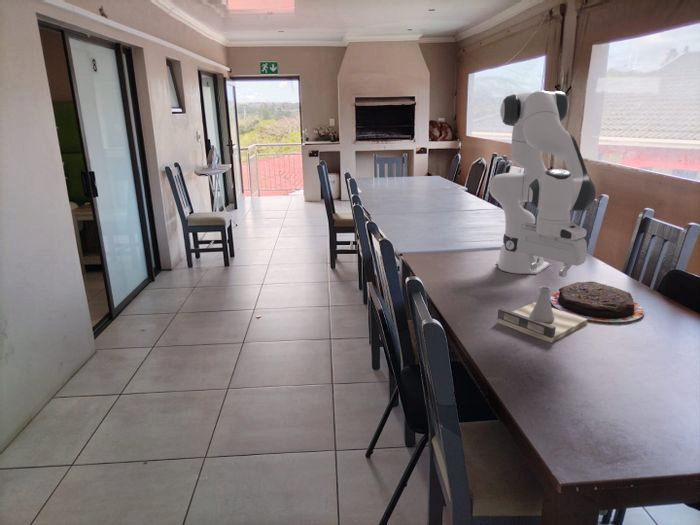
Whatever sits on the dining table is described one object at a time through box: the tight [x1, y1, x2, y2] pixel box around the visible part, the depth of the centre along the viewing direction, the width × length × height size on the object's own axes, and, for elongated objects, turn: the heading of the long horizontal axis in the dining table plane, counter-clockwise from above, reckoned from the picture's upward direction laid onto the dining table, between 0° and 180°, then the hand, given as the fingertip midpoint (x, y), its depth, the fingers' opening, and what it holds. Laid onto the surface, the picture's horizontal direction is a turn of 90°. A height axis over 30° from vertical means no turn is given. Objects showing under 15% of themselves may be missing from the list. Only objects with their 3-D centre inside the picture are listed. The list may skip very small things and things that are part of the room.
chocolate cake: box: [549, 281, 645, 325], centre depth 157 cm, size 28×28×7 cm
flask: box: [529, 286, 555, 323], centre depth 145 cm, size 7×7×10 cm
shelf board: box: [496, 301, 588, 344], centre depth 146 cm, size 20×18×4 cm
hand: (547, 272), depth 142 cm, fingers open, 8 cm apart
